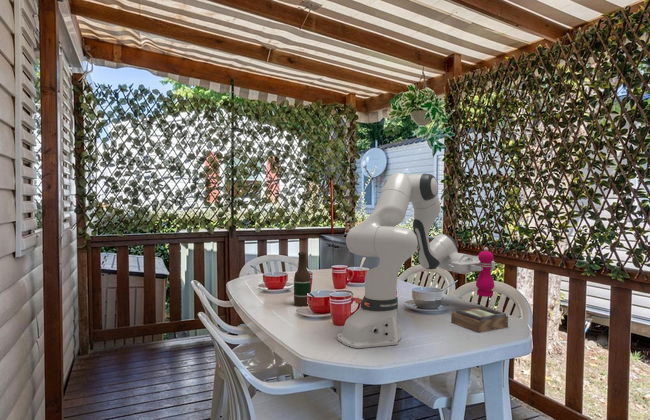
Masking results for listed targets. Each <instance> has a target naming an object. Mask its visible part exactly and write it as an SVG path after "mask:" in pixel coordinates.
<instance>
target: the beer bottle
mask: <svg viewBox="0 0 650 420" xmlns="http://www.w3.org/2000/svg"><path fill="white" fill-rule="evenodd" d="M297 266H298V267H297V270H296V272H295V274H294V277H293V305H294V306H296V307H299V306H300V307H302V306H305V307H308V304H307V293H310V292H311V291H312V288H311V287H312V283H311V281H312V279H311V274H310V272H309V271H308V268H307V252H306V251H299V252H298V265H297ZM311 293H312V292H311ZM300 307H299V308H300Z"/></svg>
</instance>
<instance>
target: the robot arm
mask: <svg viewBox="0 0 650 420" xmlns="http://www.w3.org/2000/svg"><path fill="white" fill-rule="evenodd" d="M438 192H439V182H438V180H437V178H436V176H434V175H432V174H431V173H422V174H420V173H418V174H416V173H413V174H405V173H402V172H394V173H393V174H390V175H389V176H388V178H387V179H386V180H385V181H384V183H383V187H382V189H381V192H380V194H379V197H378V200H377V202H376V205H375V207H374V209H373V211H372V212H371V213H370V214H369V216H367V217H366V218H365V219H364V220H363V221H362V222H360V223H359V224H357V225H355V226H353V227H351V228H350V229H349V230H348V231H347V234H346V237H345V243H346V247H347V249H348V251H349V252H350V253H352V254H353V255H357V256H360V257H361V256H362V257H368V258H379V264H378V265H377V266H375V267H373V268H371V269H369V270H368V271H367V272H366V274H365V276H364V296H363V298H362V299H361V298H359V297H356V298H355V299H354V302H355V304H357V305H360V307H359V308H358V309H357V310H356V311H355V312H354V313H352V314H351V315H350V316H349V317H348V318H347V319H346V320H345V321H344V322H345V323H344V325H343V332H341V333H340V332H339V333H338V334H337V335H336V339H337V341H338V342H340V343H341V342H342V343H341V344H343V345H345V346H347V347H349V346H350V347H349V348H352V349H361V348H362V349H363V348H375V347H385V346H387V347H388V346H393V345H395V346H396V345H399V341H401V339H402V335H401V332H400V327H399V319H398V308H399V299H398V296H397V292H398V291H397V287H398V276H399V272H400V270H401V267H402V266H403V265H404V263H406V261H408V260H409V259H410V258H412V256H413V255H415V253H416V251H417V260H418V261H417V262H418V263H419V264H420V266H421V267H422V268H423V269H425V270H437V268H439V269H441V270H444V271H447V272H453V273H455V274H462V275H468V274H470V273H473V272H480V271H483V267H482V266H479V265H480V260H479V259H478V255H471V254H467V253H462V252H458V246H457V242H456V241H455V239H454V238H453V237H452V236H451V235H449V234H445V233H439V234H437V235H436V236H435V237H434V238H433V239H432V240H431V241H430V240H429V232H430V230H431V228H432V226H433V224H434V222H435V221H436V219H437V218H438V217H439V215H440V212H441V201H440V198H439V197H438ZM410 203H411V204H412V208H413V214H414V215H413V221H412V229H413V230H412V229H411V228H410V229H409V228H405V227H402V226H398V225H400V224H401V223H402V222H403V221H404V219H405V217H406V214H407V211H408V207H409V205H410ZM491 263H492V267H491V271H493V270H495V268H496V263H495V260H493V261H492V262H491Z"/></svg>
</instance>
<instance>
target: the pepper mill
mask: <svg viewBox="0 0 650 420" xmlns="http://www.w3.org/2000/svg"><path fill="white" fill-rule="evenodd" d="M477 256H478V259H479V260H480V265H479V266H482V267H483V271H479V272H480V273H479V275H478V277H477V278H476V282H475V286H476V288H477V290H476V295H477V296H479V297H482V298H483V297H484V298H485V297H487V298H491V297H493V296H494V291H493V289H494V288H495V282H494V278H493V276H492V270H491V267H492V263H491V262H492V261H494V254H493V253H492V252H491V251H489V248H488V247H486V246H485V247H484V248H483V250H482V251H480V252H479V254H478V255H477Z"/></svg>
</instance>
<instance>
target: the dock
mask: <svg viewBox="0 0 650 420" xmlns="http://www.w3.org/2000/svg"><path fill="white" fill-rule="evenodd" d="M450 315H451V316H450V317H451V318H450V319H451V322H450V323H451V324H454V325H458V326H459V327H463V328H466V329H469V330H470V331H473V332H476V333H482V332H487V331H488V332H489V331H493V330H499V328H500V329H504V327H505V328H509V316H508V315H507V313H506V312H502V311H499V310H496V309H492V308H488V307H485V306H482V305H480V306H479V305H478V307H477V308H471V309H465V310H461V309H456V310H455V311H451V314H450Z"/></svg>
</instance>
